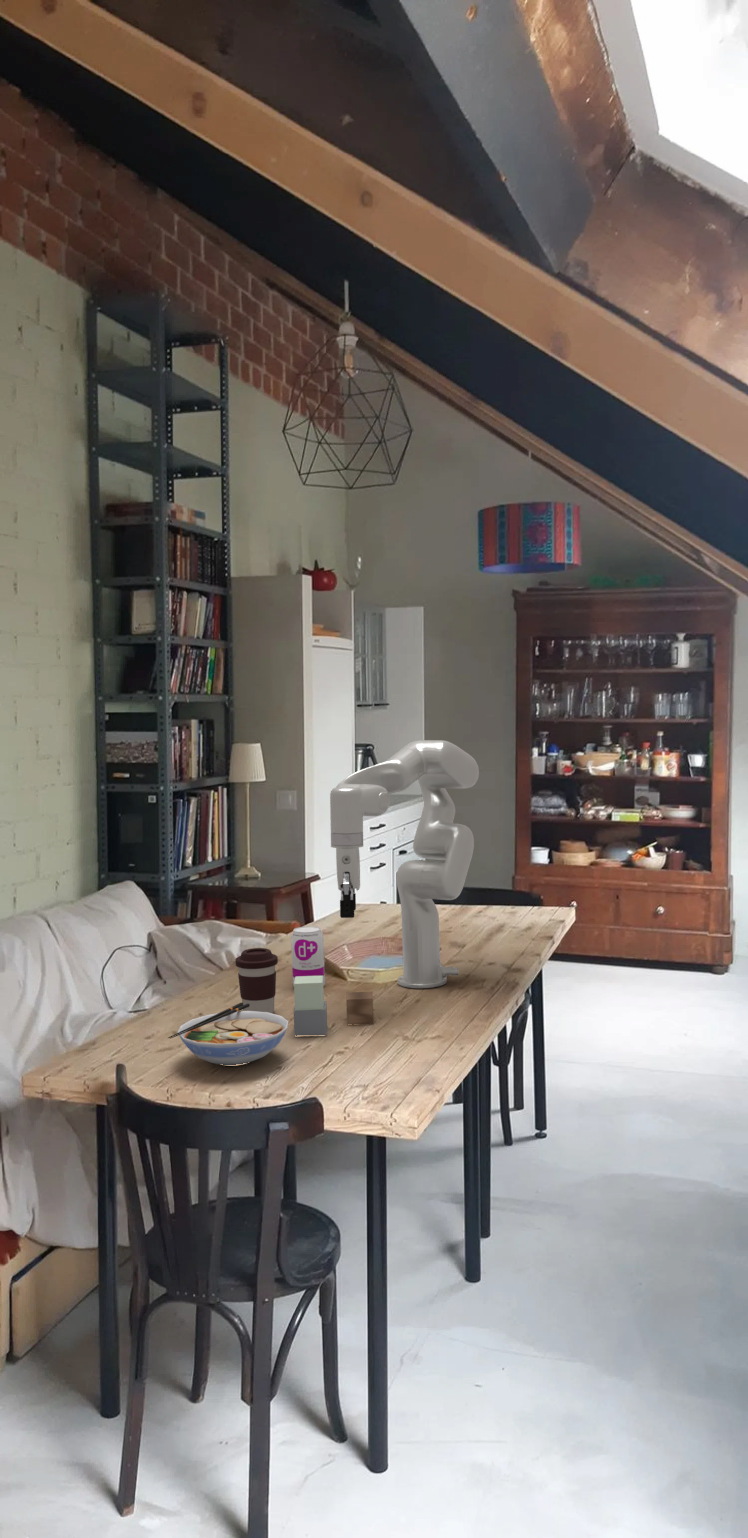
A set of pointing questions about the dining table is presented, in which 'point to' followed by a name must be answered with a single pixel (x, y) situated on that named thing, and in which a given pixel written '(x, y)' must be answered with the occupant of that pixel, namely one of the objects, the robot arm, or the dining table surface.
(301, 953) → the supplement can
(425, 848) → the robot arm
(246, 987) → the coffee cup
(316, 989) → the tower mid
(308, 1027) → the tower base
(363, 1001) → the walnut cube
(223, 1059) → the ramen bowl
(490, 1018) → the dining table surface
